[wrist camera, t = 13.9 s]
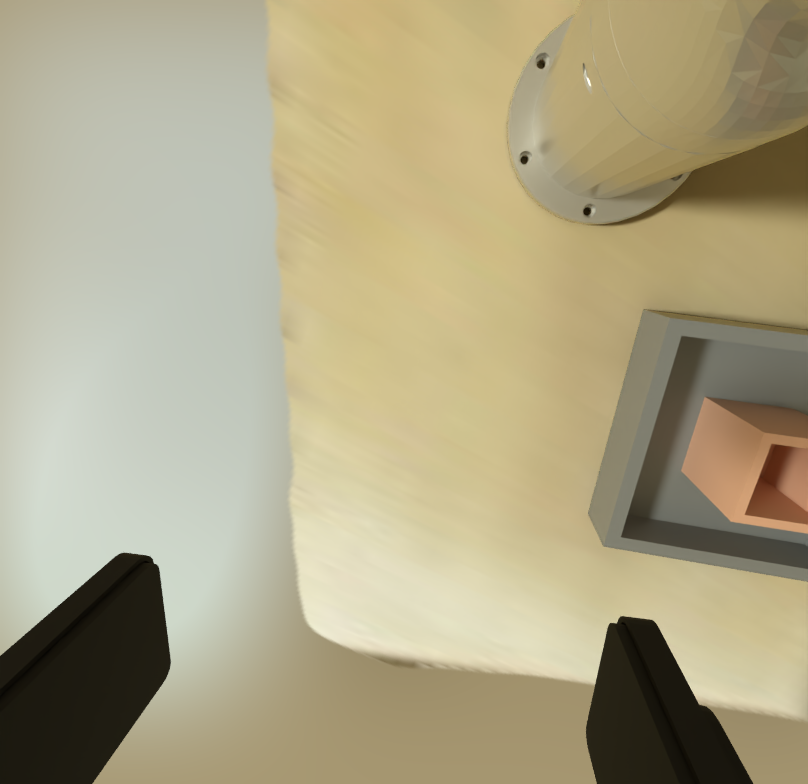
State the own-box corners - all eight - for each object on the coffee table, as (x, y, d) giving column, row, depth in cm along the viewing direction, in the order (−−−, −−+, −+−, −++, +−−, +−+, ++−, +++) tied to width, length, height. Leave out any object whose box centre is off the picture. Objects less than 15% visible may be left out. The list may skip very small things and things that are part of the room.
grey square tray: (643, 309, 33) (669, 317, 29) (898, 341, 32) (966, 355, 27) (588, 513, 38) (603, 546, 34) (804, 549, 37) (849, 588, 32)
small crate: (704, 396, 33) (764, 432, 27) (792, 408, 33) (875, 448, 26) (680, 470, 35) (731, 521, 28) (763, 483, 35) (834, 537, 28)
